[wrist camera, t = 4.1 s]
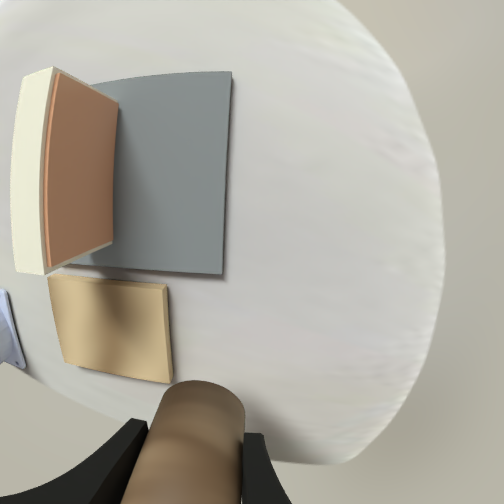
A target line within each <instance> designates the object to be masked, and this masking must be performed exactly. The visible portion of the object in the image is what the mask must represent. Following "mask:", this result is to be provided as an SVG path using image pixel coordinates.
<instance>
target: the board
mask: <svg viewBox="0 0 504 504" xmlns="http://www.w3.org/2000/svg"><path fill="white" fill-rule="evenodd" d="M47 279H48V286H49V292H50V299H51V304H52V310H53V315H54V320H55V325H56V329H57V334H58V338H59V342H60V346H61V350H62V354H63V358H64V362H65V363H69V364H73V365H77V366H81V367H85V368H89V369H93V370H97V371H102V372H106V373H111V374H116V375H121V376H126V377H131V378H137V379H143V380H149V381H155V382H162V383H169V384H170V382H171V380H172V378H173V368H172V357H171V346H170V333H169V318H168V300H167V284H154V283H142V282H131V281H120V280H109V279H99V278H89V277H80V276H71V275H62V274H53V275H51V276H49V277H47Z"/></svg>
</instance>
